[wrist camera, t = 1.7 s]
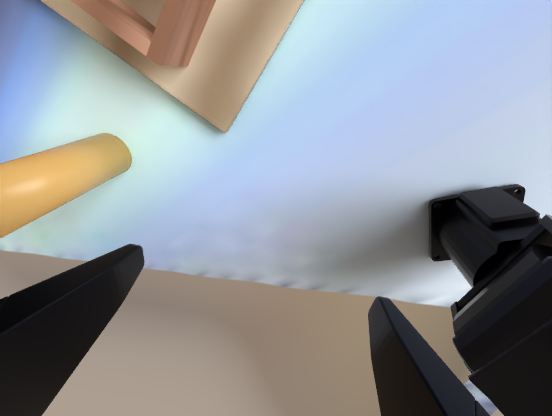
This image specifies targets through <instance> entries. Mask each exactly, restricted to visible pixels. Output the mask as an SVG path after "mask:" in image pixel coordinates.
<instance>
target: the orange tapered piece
mask: <svg viewBox="0 0 552 416" xmlns="http://www.w3.org/2000/svg"><path fill="white" fill-rule="evenodd" d="M131 162H132V158H131V154H130V151H129V149H128V147H127V146H126V145H125V143H124V142H123V141H122V140H120V139H119V138H118V137H116V136H114V135H112V134H108V133H102V134H98V135H95V136H92V137H88V138H85V139H82V140H78V141H75V142H72V143H68V144H65V145H62V146H58V147H55V148H52V149H48V150H45V151H42V152H38V153H35V154H32V155H28V156H25V157H21V158H18V159H15V160H11V161H8V162H5V163H1V164H0V238H2V237H4V236H6V235H8V234H9V233H11V232H13V231H15V230H17V229H19V228H21V227H22V226H24V225H26V224H28V223H30V222H32V221H34V220H35V219H37V218H39V217H41V216H43V215H45V214H47V213H48V212H50V211H52V210H54V209H56V208H58V207H60V206H61V205H63V204H65V203H67V202H69V201H71V200H73V199H75V198H76V197H78V196H80V195H82V194H84V193H86V192H88V191H89V190H91V189H93V188H95V187H97V186H99V185H101V184H102V183H104V182H106V181H108V180H110V179H112V178H114V177H115V176H117V175H119V174H121V173H123V172H125V171H126V170H128V169H129V168H130V166H131Z"/></svg>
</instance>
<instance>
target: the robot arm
mask: <svg viewBox="0 0 552 416" xmlns="http://www.w3.org/2000/svg"><path fill="white" fill-rule="evenodd" d="M517 189H518V190H517ZM515 190H517V191H516V192H515V193H514V191H515ZM524 195H525V188H524V187H522V186H521V185H518V184H514V185H508V186H503V187H491V188H485V189H480V190H474V191H469V192H463V193H461V194H459V195H453V196H448V197H442V198H436V199H433V200H432V201H430V203H429V247H430V257H431V259H432V260H433V261H444V260H452V261H453V262H454V264H455V265H456V266H457V268H458V269H459V271H460V272H461V273H462V275H463V276H464V277H465V279H466V280H467V281H468V283H469V284H470V285H471V287H472V289H471V290H470V291H469V292H468V293H467V294H465V295H464V296H463V297H462V298H461V299H460V300H459V301H458V302H455V303H454V304H453V305H452V306H451V311H452V317H453V327H454V333H455V337H453V343H454V345H455V347H456V349H457V351H458V353H459V355H460V356H461V358H462V359H463V361H464V363H465V365H466V366H467V368H468V369H469V370H470V371H471V373H472V374H471V375H469V376H468V377H469V380H470V381H471V382H472V383H473V384H474V385H475V386H476V387H477V388H478V389H479V390H480V391H482V392H483V393H484V394H485V395H486V396H487V397H488V398H489V399H490V400H491V401H492V402H493V404H494V405H495V406H496V407H497V408H498V409H499V410H500V411H501V413H502V414H503V415H504V416H552V216H550V215H545V216H544V217H543V218H542V219H541V218H539V217H540V213H538V212H537V211H535V210H534V209H532V208H531V207H529V206H527V205H526V204H524V203H523V201H524ZM437 203H439V205H438V206H436V207H435V204H437ZM436 255H438V256H436ZM143 266H144V256H143V249H142V247H141V246H140V245H135V244H128V245H126V246H123V247H121V248H119V249H116V250H114V251H112V252H109V253H107V254H105V255H102V256H100V257H98V258H95V259H93V260H91V261H88V262H86V263H84V264H81V265H79V266H77V267H75V268H72V269H70V270H67V271H65V272H63V273H60V274H58V275H56V276H54V277H51V278H49V279H47V280H44V281H42V282H40V283H37V284H35V285H32V286H30V287H28V288H25V289H23V290H21V291H18V292H16V293H14V294H12V295H10V296H9V297H4V298H2V299H0V416H42V414H43V413H44V412H45V410H46V409H47V408H48V406H49V405H50V403H51V402H52V401H53V399H54V398H55V396H56V395H57V394H58V392H59V391H60V389H61V388H62V387H63V385H64V384H65V383H66V381H67V380H68V378H69V377H70V376H71V374H72V373H73V371H74V370H75V369H76V367H77V366H78V364H79V363H80V362H81V360H82V359H83V358H84V356H85V355H86V353H87V352H88V351H89V349H90V348H91V346H92V345H93V344H94V342H95V341H96V339H97V338H98V337H99V335H100V334H101V332H102V331H103V330H104V328H105V327H106V325H107V324H108V323H109V321H110V320H111V319H112V317H113V316H114V314H115V313H116V312H117V310H118V309H119V307H120V306H121V304H122V303H123V301H124V300H125V298H126V296H127V295H128V293H129V291H130V289H131V288H132V286H133V284H134V282H135V280H136V279H137V277H138V275H139V274H140V272H141V270H142V269H143ZM368 320H369V334H370V348H371V360H372V366H373V372H374V378H375V383H376V389H377V395H378V400H379V406H380V412H381V416H490V415H489V414H488V413H487V412H486V410H485V409H484V408H483V407H482V406H481V405H480V403H479V402H478V401H476V400H475V398H474V397H473V395H472V394H471V393H470V392H469V391H468V390H467V388H466V387H465V386H464V385H463V384H462V383H461V381H460V380H459V379H458V378H457V377H456V376H455V375H454V373H453V372H452V371H451V370H450V369H449V368H448V366H447V365H446V364H445V363H444V362H443V361H442V359H441V358H440V357H439V356H438V355H437V354H436V352H435V351H434V350H433V349H432V348H431V347H430V346H429V345H428V343H427V342H426V341H425V340H424V339H423V337H422V336H421V335H420V334H419V333H418V332H417V330H416V329H415V328H414V327H413V326H412V324H411V323H410V322H409V321H408V320H407V319H406V317H404V315H403V314H402V313H401V312H400V311H399V309H397V307H396V306H395V305H394V304H393V302H392V301H391V300H390V299H388V298H385V297H380V296H378V297H376V299H375V300H374V302H373V304H372V306H371V308H370V309H369V313H368Z"/></svg>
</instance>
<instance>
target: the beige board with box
mask: <svg viewBox="0 0 552 416" xmlns="http://www.w3.org/2000/svg"><path fill="white" fill-rule="evenodd" d="M41 1H42V2H43V3H45V4H46V5H48V6H49V7H50V8H52V9H53V10H54V11H56V12H57V13H59V14H60V15H61V16H63V17H64V18H66V19H67V20H68V21H70V22H71V23H72V24H74V25H75V26H77V27H78V28H79V29H81V30H82V31H84V32H85V33H86V34H88V35H89V36H91V37H92V38H93V39H95V40H96V41H97V42H99V43H100V44H102V45H103V46H104V47H106V48H107V49H109V50H110V51H111V52H113V53H114V54H116V55H117V56H118V57H120V58H121V59H122V60H124V61H125V62H127V63H128V64H129V65H131V66H132V67H134V68H135V69H136V70H138V71H139V72H141V73H142V74H143V75H145V76H146V77H147V78H149V79H150V80H152V81H153V82H154V83H156V84H157V85H159V86H160V87H161V88H163V89H164V90H166V91H167V92H168V93H170V94H171V95H172V96H174V97H175V98H177V99H178V100H179V101H181V102H182V103H184V104H185V105H186V106H188V107H189V108H191V109H192V110H193V111H195V112H196V113H197V114H199V115H200V116H202V117H203V118H204V119H206V120H207V121H209V122H210V123H211V124H213V125H214V126H215V127H217V128H218V129H220V130H221V131H222V132H224V133H226V132H228V130H229V129H230V127H231V125H232V124H233V122H234V120H235V118H236V117H237V115H238V113H239V112H240V110H241V108H242V106H243V105H244V103H245V101H246V100H247V98H248V96H249V94H250V93H251V91H252V89H253V88H254V86H255V84H256V82H257V81H258V79H259V77H260V76H261V74H262V72H263V70H264V69H265V67H266V65H267V64H268V62H269V60H270V59H271V57H272V55H273V53H274V52H275V50H276V48H277V47H278V45H279V43H280V41H281V40H282V38H283V36H284V35H285V33H286V31H287V29H288V28H289V26H290V24H291V23H292V21H293V19H294V17H295V16H296V14H297V12H298V11H299V9H300V7H301V6H302V4H303V2H304V0H41Z"/></svg>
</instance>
